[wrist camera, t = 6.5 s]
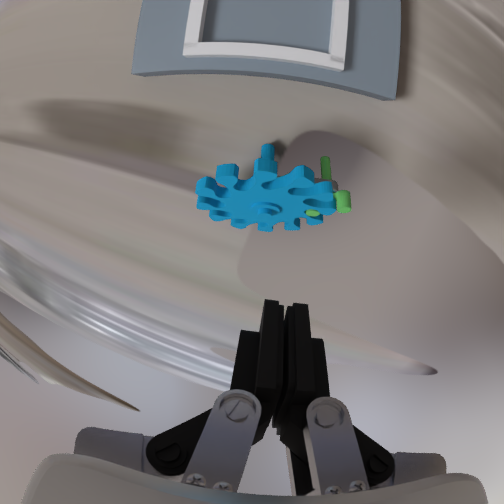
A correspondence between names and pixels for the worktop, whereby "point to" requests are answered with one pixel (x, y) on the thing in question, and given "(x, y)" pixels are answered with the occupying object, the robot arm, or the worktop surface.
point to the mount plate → (275, 41)
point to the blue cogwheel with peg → (271, 195)
